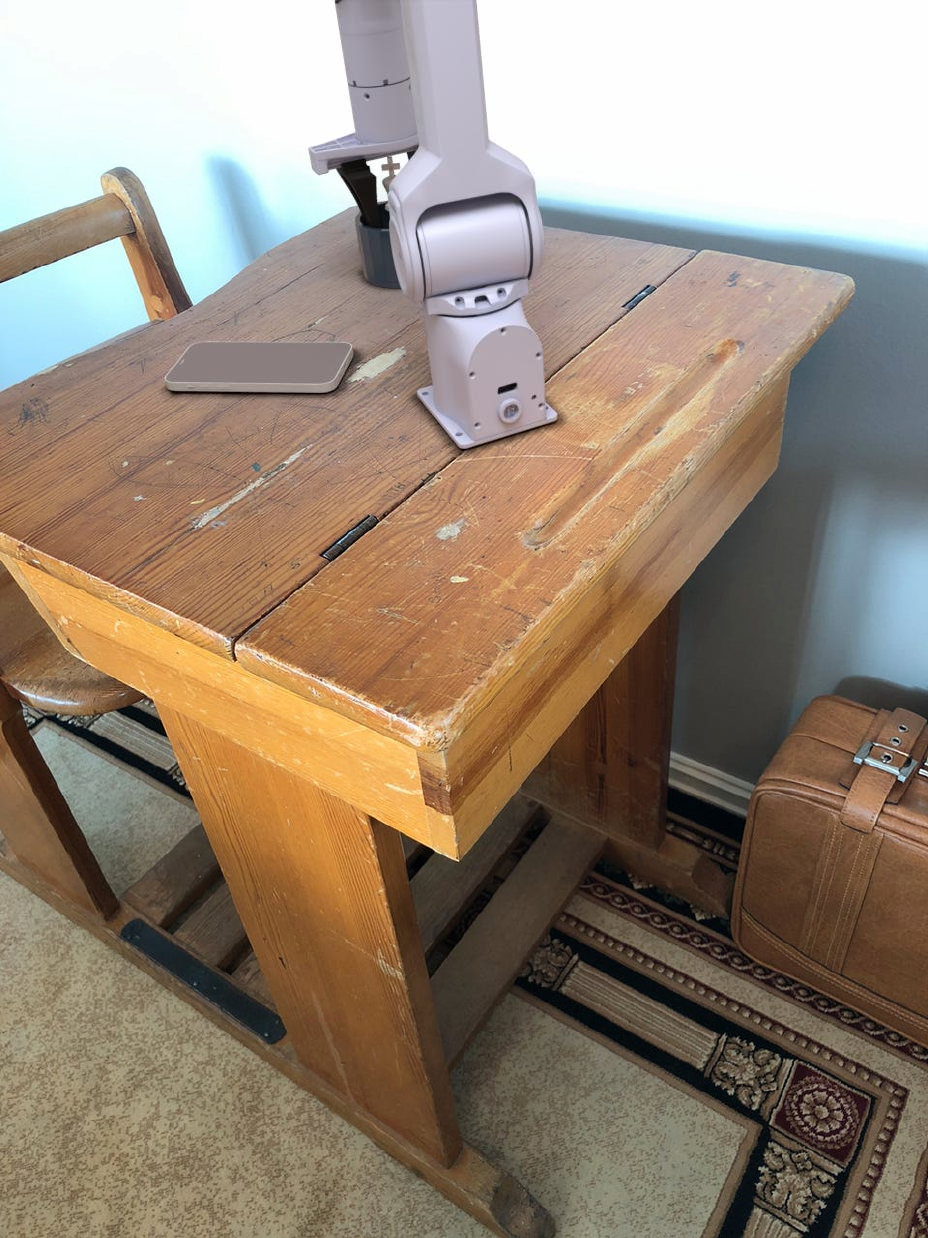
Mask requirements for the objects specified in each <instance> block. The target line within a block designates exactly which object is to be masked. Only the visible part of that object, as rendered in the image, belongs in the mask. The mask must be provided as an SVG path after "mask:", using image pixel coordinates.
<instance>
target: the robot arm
mask: <svg viewBox="0 0 928 1238" xmlns="http://www.w3.org/2000/svg"><path fill="white" fill-rule="evenodd" d="M334 7H335V13H336V18H337V25H338V31H339V39H340V44H341V52H342V56H343V62H344V63H343V64H344V70H345V76H346V83H347V88H348V89H347V90H348V94H349V102H350V107H351V115H352V119H353V125H354V132H351V133H349V134H346V135H343V136H341V137H337V138H335V139H332V140H329V141H327V142H323V143H321V144H317V145H313V146H309V147H308V148H307V149H308V154H309V160H310V165H311V170H312V171H313V172H314V173H315V174H316V175H317V176H322V175H326V174H329V173H330V171H332V170H335V171H336V172H337V173H338V175H339V177H340V178H341V179H342V181H343V182H344V185H345V186H346V187H347V189H348V191H349V193H350V194H351V196H352V198H353V199H354V201H355V204H356V205H357V207H358V209H359V212H361V214H362V216H363V219H364V221H365V224H366V226H368V227H371V228H377V229H382V227H381V222H380V217H379V212H378V203H379V202H378V188H377V187H378V186H377V185H378V184H377V183H378V181H377V180H378V179H377V176H376V175H375V174H374V173H373V172H372V171H371V166H370V165H369V164H368V163H367V162H370V161H376V160H380V159H385V158H387V157H390V156H392V157H393V156H397V155H402V154H405V153H406V157H407V160H408V161H407V162H406V163H405V165H404V166H403V167H401V168H400V170H399V172H398V173H397V174H395V175H396V177H395V178H394V179H393V181H392V182H391V183H390V185H389V190H390V192H389V193H388V195H387V201H388V204H389V212H390V222H389V229H390V240H391V247H392V253H393V259H394V264H395V268H396V272H397V276H398V280H399V283H400V286H401V288H400V289H401V292H402V293H403V296H404V297H405V298H407V299H408V300H410V301H411V302H412V304H415V305H417V304H420V303H421V306H422V314H423V322H424V330H425V338H426V346H427V354H428V360H429V361H428V363H429V369H430V374H431V376H430V377H431V383H432V384H431V385H427V386H425V387H422V388H419V389H418V390H416V396H417V397H418V399H419V400H420V401H421V402H422V404H423V405H424V406H425V408H426V409H427V410H428V412H430V413H431V414H432V416H433V417H434V419H435V420H436V421H437V422H438V424H439V425H440V426H441V427H442V429H443V430H444V431H445V432H446V433H447V435H448V436H449V438H451V440H452V441H453V442H454V443H455V444H456V446H457V447H458V448H459V449H465V450H466V449H469V448H472V447H476V446H479V445H483V444H485V443H489V442H492V441H495V440H498V439H502V438H505V437H507V436H512V435H515V434H518V433H521V432H524V431H527V430H530V429H534V428H537V427H541V426H543V425H548V424H550V423H554V422H556V421H557V420H558V412H556V411H555V409H553V407H551V406H550V405H549V404H548V403H547V402H546V383H545V382H546V381H545V380H546V379H545V360H544V359H545V358H544V348H543V345H542V341H541V340H540V337H539V336H538V333H536V332H535V330H534V329H533V328H532V326H530V324H529V322H528V320H527V318H526V315H525V311H524V306H523V297H527V296H529V295H530V285H529V281H534V280H536V279H537V278H538V276H539V274H540V272H541V270H542V268H543V266H544V263H545V257H546V240H545V230H544V224H543V219H542V215H541V214H542V213H541V210H540V208H539V207H540V206H539V204H538V198H537V187H536V181H535V177H534V175H533V174H532V173H531V171H530V169H529V167H528V165H527V164H526V163H525V162H524V161H523V160H522V159H521V158H520V157H518V156H516V155H515V154H513V153H512V152H510V151H509V150H507V149H505V148H503V147H502V146H501V145H499V144H497V143H495V142H494V141H492V140H491V139H490V135H489V124H488V113H487V102H486V90H485V79H484V69H483V57H482V47H481V36H480V24H479V23H480V22H479V13H478V3H477V0H334Z"/></svg>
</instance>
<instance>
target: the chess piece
mask: <svg viewBox="0 0 928 1238" xmlns="http://www.w3.org/2000/svg"><path fill="white" fill-rule="evenodd" d="M386 161H387V163H382V164H381V165H380V168H381V172H386V171H388V175H387V176H386V177H384V178H383V179H382V180H381V184H382V186H383V189H384V190H385V192H386V194H387V195H386V196H388V193H389V192H390V190H389V185H390V183H391V182H392V181H393V179H394V178H395V177H396V175H397V174H395V171H396V170H398V171H399V170H401V163H400V162H394V161H393V156H389V157H386ZM385 206H386V207H385V209H386V210H387V211H389V204H388V203H387V204H386V205H385Z"/></svg>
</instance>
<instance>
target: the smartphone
mask: <svg viewBox="0 0 928 1238" xmlns="http://www.w3.org/2000/svg"><path fill="white" fill-rule="evenodd" d="M354 355H355V353H354V349H353V345H352V344H351V343H350V342H347V341H198V342H194V343H192V344H190V345H188V347H187V348H186V349H185V350H184V352H183V353H182V354H181V356H180V357H179V358H178V359H177V361H176V362H175V363H174V364H173V366H172V367H171V368H170V370H169V371H168V372H167V373H166V375H165V376H164V381H165V385H166V388H167V389H168V390H169V391H174V392H231V393H233V392H234V393H235V392H241V393H247V392H248V393H311V394H312V393H313V394H314V393H315V394H316V393H317V394H318V393H319V394H320V393H321V394H322V393H329V392H331V391H334V390H335V389H337V387H339V384H340V382H341V380H342V379H343V377H344V375H345V373H346V372H347V369H348V367H349V365H350V364H351V361H352V360H353V357H354Z"/></svg>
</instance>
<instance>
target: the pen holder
mask: <svg viewBox="0 0 928 1238" xmlns="http://www.w3.org/2000/svg"><path fill="white" fill-rule="evenodd" d="M387 203H388V200H384V201H379V202H378V212H379V217H380V222H381V227H382V229H377V228H371V227H368V226H366V224H365V221H364V219H363V216H362V214H361V212H360V211H358V213H357V214H356V215H355V216H354V223H355V224H354V225H355V231H356V236H357V243H358V248H359V253H360V261H361V266H362V272H363V276H364V279H365V280H366V281H367V282H368V283H369V284H371V285H373V286H376V287H379V288H386V289H401V286H400V283H399V280H398V276H397V272H396V268H395V264H394V259H393V253H392V247H391V240H390V229H389V222H390V212H389V211H387V210H386V209H385V207H386V206H385V205H386V204H387Z"/></svg>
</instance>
